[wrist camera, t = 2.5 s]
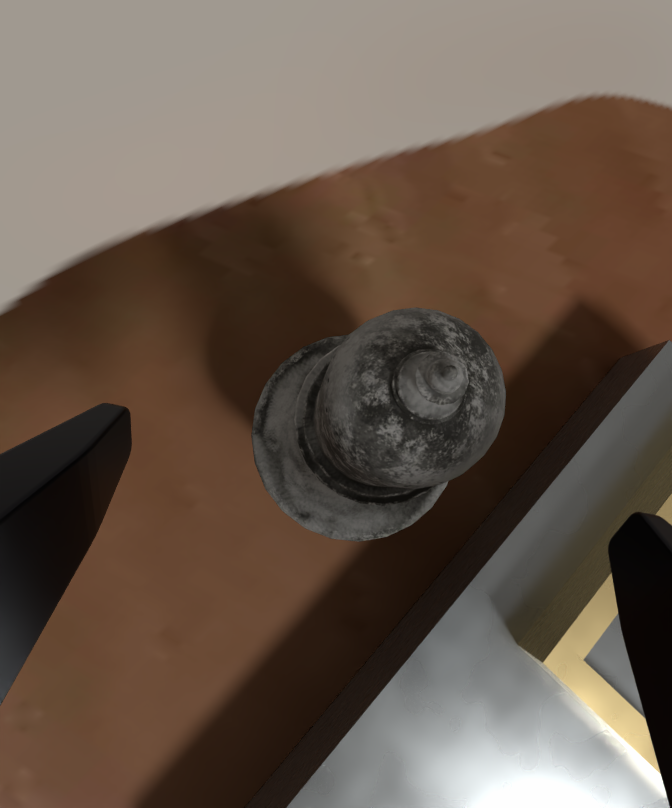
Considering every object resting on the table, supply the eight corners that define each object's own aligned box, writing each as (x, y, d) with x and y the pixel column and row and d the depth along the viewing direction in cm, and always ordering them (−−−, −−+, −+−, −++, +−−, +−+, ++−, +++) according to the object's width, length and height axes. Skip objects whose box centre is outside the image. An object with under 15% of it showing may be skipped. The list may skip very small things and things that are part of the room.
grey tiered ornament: (227, 414, 18) (104, 278, 6) (369, 333, 19) (515, 73, 7) (313, 563, 17) (373, 745, 5) (455, 472, 18) (774, 457, 6)
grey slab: (494, 1204, 15) (569, 1466, 11) (177, 887, 15) (139, 1029, 11) (881, 596, 19) (1037, 626, 15) (620, 358, 19) (705, 326, 15)
